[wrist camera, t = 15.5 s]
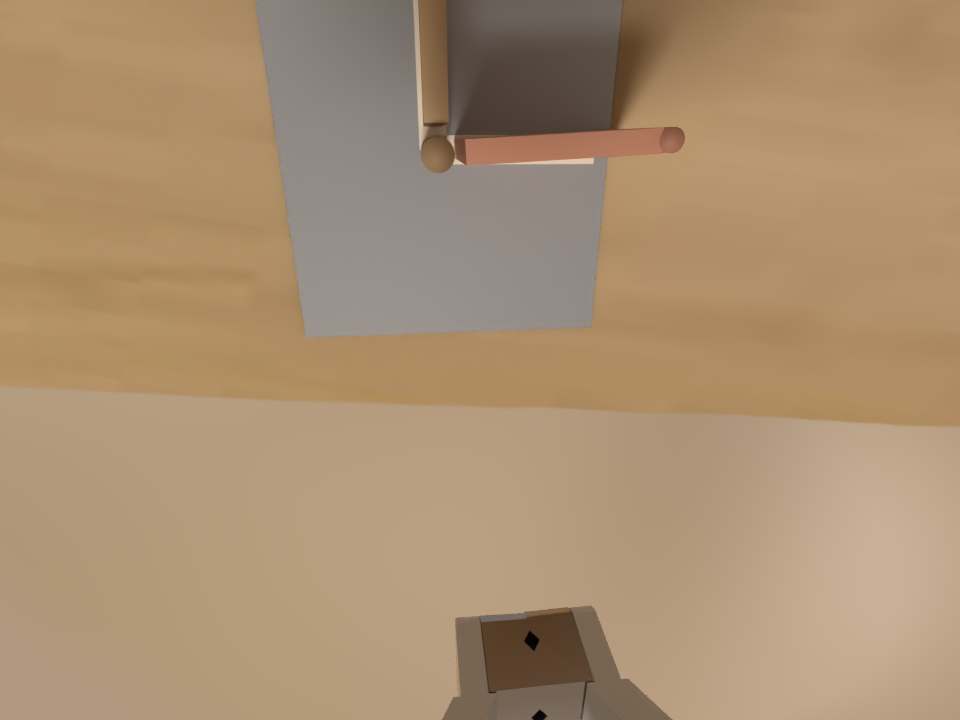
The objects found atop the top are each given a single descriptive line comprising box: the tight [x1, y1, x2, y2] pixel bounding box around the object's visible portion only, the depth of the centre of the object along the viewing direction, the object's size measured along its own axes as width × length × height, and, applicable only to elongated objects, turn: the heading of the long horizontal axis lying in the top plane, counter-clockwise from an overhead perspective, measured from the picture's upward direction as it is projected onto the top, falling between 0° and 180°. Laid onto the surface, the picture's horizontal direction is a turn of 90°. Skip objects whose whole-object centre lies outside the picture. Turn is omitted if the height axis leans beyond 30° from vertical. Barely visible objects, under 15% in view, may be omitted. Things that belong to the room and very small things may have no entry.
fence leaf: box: [454, 127, 685, 166], centre depth 29 cm, size 1×11×10 cm, turn 93°
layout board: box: [255, 0, 623, 338], centre depth 34 cm, size 22×24×1 cm
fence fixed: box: [418, 0, 455, 173], centre depth 26 cm, size 2×11×11 cm, turn 0°
